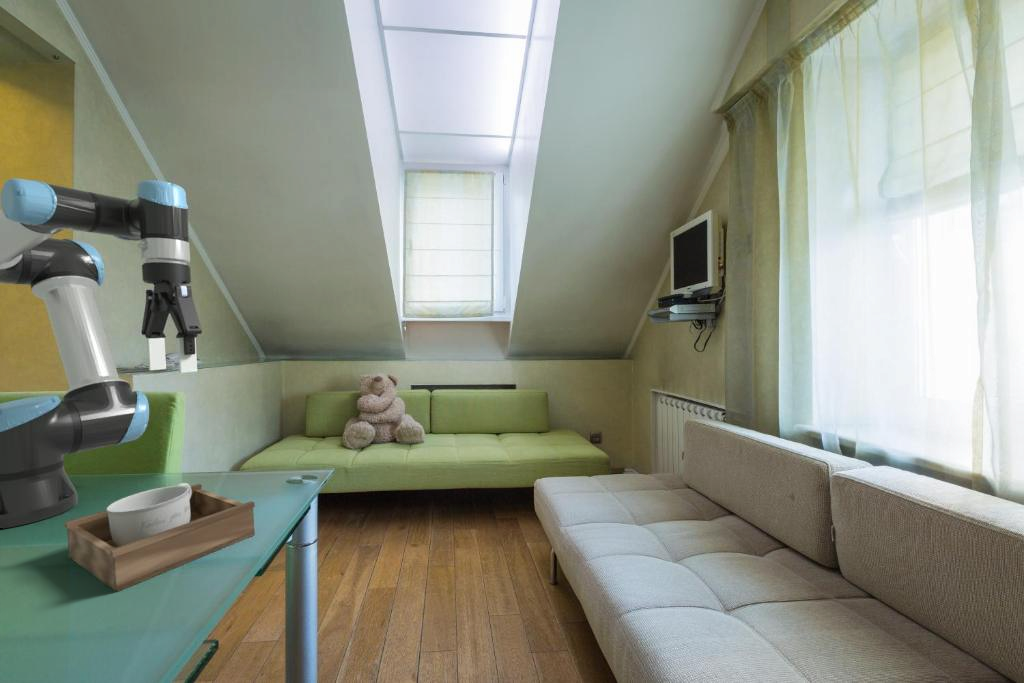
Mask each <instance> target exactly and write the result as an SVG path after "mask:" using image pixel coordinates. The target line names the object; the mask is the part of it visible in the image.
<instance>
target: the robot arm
mask: <svg viewBox="0 0 1024 683" xmlns="http://www.w3.org/2000/svg"><path fill="white" fill-rule="evenodd" d="M136 196H137V198H134V199H127V198H123V197H122V198H121V197H116V196H111V195H106V194H101V193H95V192H91V191H86V190H81V189H75V188H71V187H65V186H62V185H58V184H57V185H56V184H53V183H48V182H47V183H46V182H43V181H39V180H30V179H23V178H17V177H15V178H14V177H13V178H9V179H7V180H6V181H4V183H3V186H2V188H1V192H0V207H1V209H0V283H1V284H11V285H26V286H30V288H31V291H32V294H33V295H34V296H35V297H36V298H39V299H41V300H43V301H44V304H45V307H46V311H47V314H48V318H49V321H50V325H51V327H52V331H53V335H54V339H55V342H56V344H57V346H56V347H57V348H58V352H59V355H60V359H61V362H62V365H63V370H64V372H65V376H66V380H67V382H68V383H67V384H68V386H69V389H67V391H65V393H64V394H63V395H62V399H63V400H61V398H60V397H59V395H55V394H54V395H53V394H49V395H39V396H35V397H25V398H22V399H15V400H11V401H6V402H3V403H2V402H1V403H0V528H3V529H8V528H13V527H18V526H23V525H27V524H32V523H36V522H39V521H43V520H46V519H49V518H53V517H56V516H57V515H61V514H62V513H65V512H67V511H69V510H71V509H73V508H75V507H76V506H77V505H78V504H79V501H78V500H79V499H78V498H79V497H78V491H77V490H76V488H75V486H74V484H73V483H72V481H71V479H70V478H69V476H68V474H67V472H66V471H65V465H64V456H66V455H70V454H77V453H81V452H85V451H90V450H95V449H100V448H106V447H111V446H119V445H121V444H123V443H128V442H132V441H135V440H137V439H139V438H140V437H141V436H142V435H143V434H144V433H145V431H146V429H147V427H148V422H149V419H150V404H149V400H148V398H147V396H146V394H145V393H144V392H142V391H138V390H134V391H132V387H131V385H130V384H131V383H130V382H129V381H127V380H126V379H122V378H120V376H119V374H118V370H117V367H116V364H115V361H114V358H113V355H112V352H111V348H110V346H109V343H108V342H109V341H108V338H107V334H106V333H105V329H104V326H103V322H102V319H101V316H100V314H99V310H98V306H97V303H96V300H95V297H94V294H96V293H97V292H98V290H99V287H100V286H101V285H102V284H103V283H104V280H105V276H106V273H105V270H104V269H105V264H104V261H103V259H102V256H101V255H100V253H99V251H98V250H97V249H96V248H95V247H94V246H93V245H91V244H90V243H87V242H85V241H84V242H83V241H78V240H73V239H70V238H62V239H61V238H53V236H55V235H56V234H58V233H60V232H62V231H64V230H71V231H79V232H84V233H85V232H86V233H92V234H93V233H94V234H99V235H107V236H108V235H109V236H113V237H115V238H117V239H119V240H123V241H134V242H137V241H140V243H138V244H137V246H138V247H137V248H138V249H140V250H141V259H142V261H144V263H142V265H141V272H142V273H141V274H142V276H141V277H142V282H144V283H146V284H151V285H153V289H146V291H145V307H144V312H143V318H142V325H141V332H140V333H141V335H142V336H145V338H146V343H147V345H146V346H147V358H148V359H147V361H148V362H147V363H148V371H159V370H167V362H166V357H167V356H166V342H165V338H167V336H166V334H165V333H164V330H165V327H166V324H167V321H168V318H169V314H170V316H171V319H172V321H173V324H174V326H175V327H176V330H177V334H176V336H175V338H176V339H177V340H176V341H177V354H178V355H177V356H178V369H179V370H178V373H179V374H183V373H185V374H186V373H195V372H196V373H197V372H198V362H197V342H196V341H197V339H196V338H197V337H198V335H202V332H203V330H202V326H201V323H200V320H199V315H198V312H197V310H196V306H195V302H194V300H193V293H192V292H193V291H192V287H191V286H190V284H191V282H192V278H191V276H192V275H191V274H192V273H191V267H190V266H189V265H188V264H189V263H190V262H191V251H190V250H191V248H190V242H189V212H188V209H189V205H188V204H187V202H188V201H187V193H186V191H185V189H184V188H183V187H182V186H180V185H177V184H176V183H172V182H168V181H165V180H164V181H163V180H155V179H154V180H153V179H152V180H151V179H149V180H147V179H146V180H142V181H139V182H138V185H137V192H136ZM188 284H189V286H188Z"/></svg>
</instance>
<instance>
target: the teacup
mask: <svg viewBox="0 0 1024 683" xmlns="http://www.w3.org/2000/svg"><path fill="white" fill-rule="evenodd" d="M190 486H191V485H190V484H189V483H187V482H181V483H177V484H175V485H171V486H164V487H159V488H158V487H157V488H153V489H147V490H145V491H140V492H138V493H133V494H131V495H129V496H126V497H123V498H120V499H118V500H116V501H113V502H112V503H111V504H109V505H108V506H107V507H106V509H105V510H106V511H107V513H108V518H109V525H110V531H111V536H112V539H113V542H114V543H115V544H116V545H117V546H118V547H120V546H123V545H126V544H129V543H132V542H135V541H137V540H140V539H143V538H146V537H149V536H152V535H155V534H158V533H160V532H163V531H166V530H169V529H172V528H175V527H178V526H181V525H183V524H186V523H189V522H190V501H189V500H190V497H191V493H192V490H191V487H190Z"/></svg>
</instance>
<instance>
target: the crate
mask: <svg viewBox="0 0 1024 683" xmlns="http://www.w3.org/2000/svg"><path fill="white" fill-rule="evenodd" d="M190 487H191V490H192V493H191V497H190V500H189V501H190V522H189V523H186V524H183V525H181V526H178V527H175V528H172V529H169V530H166V531H163V532H160V533H158V534H155V535H152V536H149V537H146V538H143V539H140V540H137V541H135V542H132V543H129V544H126V545H123V546H120V547H118V546H117V545H116V544H115V543H114V542H113V539H112V536H111V531H110V525H109V518H108V513H107V511H106V509H105V510H103V511H100V512H99V511H98V512H95V513H93V514H88V515H86V516H81V517H78V518H75V519H72V520H71V519H70V520H68V521H65V522H64V527H65V528H66V532H67V546H68V547H67V548H68V557H69V558H70V559H71V560H73V561H74V562H75V563H76V564H78V565H79V566H81V567H82V568H84V569H85V570H86V571H88V572H89V573H90V574H92V575H93V576H94V577H96V578H97V579H99V580H100V581H101V582H103V583H104V584H106V585H107V586H108V587H109V588H111V589H112V590H113V591H114V592H116V593H118V592H120V591H122V590H125V589H128V588H130V587H132V586H135V585H137V584H139V583H140V584H141V583H143V582H144V581H146V580H149V579H152V578H155V577H157V576H159V575H161V574H164V573H166V572H169V571H172V570H174V569H176V568H179V567H181V566H183V565H185V564H188V563H190V562H193V561H195V560H198V559H199V558H202V557H206V556H208V555H209V554H213V553H215V552H217V551H219V550H222V549H224V548H227V547H229V546H231V545H233V544H234V545H235V544H236V543H238V542H241V541H243V540H246V539H249V538H251V537H254V536H255V533H256V532H255V519H254V517H255V516H254V514H255V513H254V508H255V506H256V505H255V502H254V501H252V500H251V501H247V502H244V503H242V502H240V501H236V500H234V499H230V498H228V497H226V496H222V495H219V494H215V493H213V492H210V491H207V490H204V489H203V488H202V484H200V483H197V484H193V485H190Z"/></svg>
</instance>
